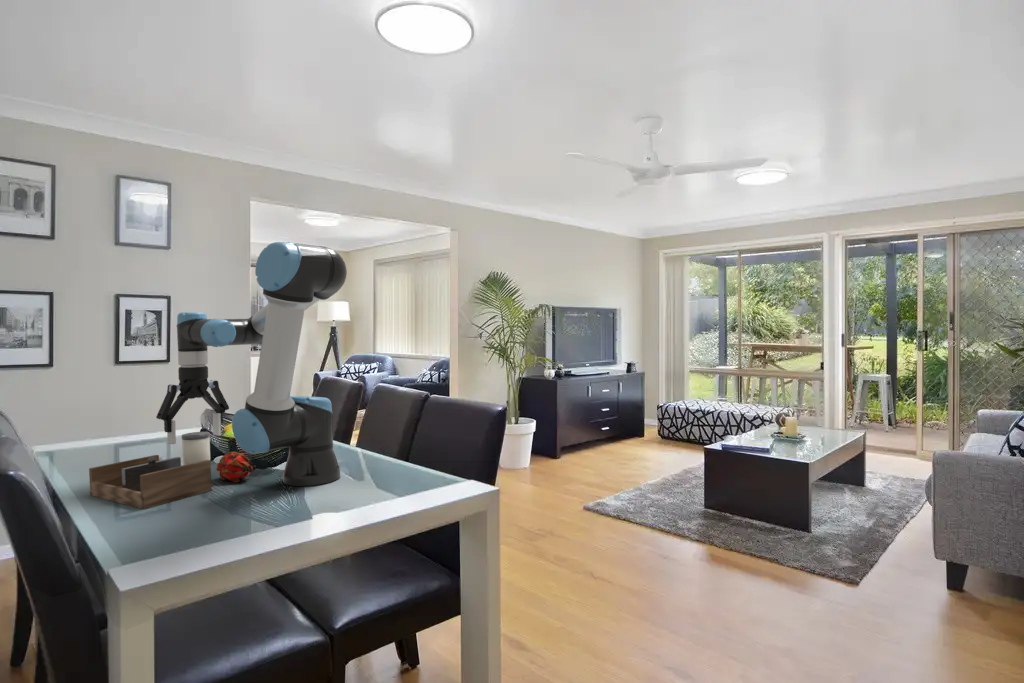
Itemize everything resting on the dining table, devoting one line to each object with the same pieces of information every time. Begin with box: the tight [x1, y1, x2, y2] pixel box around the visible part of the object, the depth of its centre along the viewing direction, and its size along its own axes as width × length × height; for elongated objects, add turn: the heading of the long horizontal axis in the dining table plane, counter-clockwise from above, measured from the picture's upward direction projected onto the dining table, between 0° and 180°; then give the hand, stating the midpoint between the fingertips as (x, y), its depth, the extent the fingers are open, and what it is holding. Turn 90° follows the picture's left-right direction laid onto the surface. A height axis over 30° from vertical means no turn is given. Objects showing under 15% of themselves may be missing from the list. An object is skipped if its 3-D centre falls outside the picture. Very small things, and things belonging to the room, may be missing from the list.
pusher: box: [122, 456, 182, 492], centre depth 153 cm, size 2×14×8 cm, turn 150°
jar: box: [181, 431, 211, 466], centre depth 171 cm, size 7×7×12 cm
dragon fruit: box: [215, 451, 256, 483], centre depth 165 cm, size 8×8×12 cm
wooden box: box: [88, 454, 212, 510], centre depth 153 cm, size 25×17×8 cm
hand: (195, 439), depth 171 cm, fingers open, 13 cm apart
